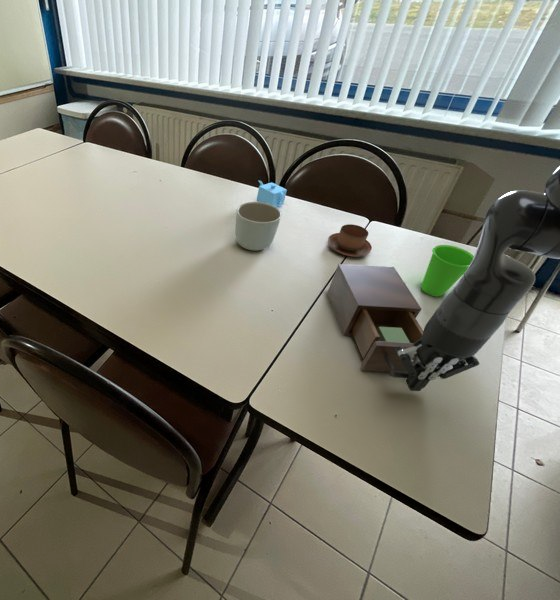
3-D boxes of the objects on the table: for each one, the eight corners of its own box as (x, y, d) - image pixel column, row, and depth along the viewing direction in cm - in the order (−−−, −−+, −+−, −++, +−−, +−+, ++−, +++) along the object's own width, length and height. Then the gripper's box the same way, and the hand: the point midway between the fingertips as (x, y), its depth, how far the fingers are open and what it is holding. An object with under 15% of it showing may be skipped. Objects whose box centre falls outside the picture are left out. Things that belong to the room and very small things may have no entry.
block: (401, 359, 75) (411, 344, 72) (378, 358, 75) (387, 343, 72) (392, 342, 78) (401, 327, 75) (370, 341, 78) (378, 326, 75)
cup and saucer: (329, 234, 115) (336, 216, 111) (371, 244, 111) (379, 226, 107) (322, 253, 107) (329, 235, 103) (367, 264, 103) (375, 246, 99)
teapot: (249, 199, 133) (252, 179, 128) (261, 195, 135) (265, 176, 130) (273, 213, 125) (278, 192, 120) (286, 208, 128) (291, 188, 123)
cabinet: (402, 339, 82) (421, 308, 75) (343, 335, 82) (358, 305, 76) (378, 296, 93) (393, 266, 87) (326, 293, 94) (338, 263, 87)
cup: (414, 296, 93) (435, 261, 85) (410, 276, 99) (430, 241, 92) (455, 305, 90) (481, 269, 83) (448, 284, 96) (472, 249, 89)
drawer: (433, 394, 70) (454, 370, 65) (370, 390, 70) (386, 366, 66) (395, 325, 84) (409, 301, 79) (343, 322, 84) (354, 298, 79)
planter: (271, 235, 115) (279, 203, 107) (275, 257, 105) (283, 224, 98) (231, 232, 116) (236, 200, 109) (231, 254, 107) (236, 220, 100)
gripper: (431, 335, 53) (382, 401, 65) (527, 341, 52) (460, 407, 64) (409, 301, 59) (368, 368, 70) (495, 305, 58) (440, 372, 69)
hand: (412, 386), depth 67 cm, fingers closed
